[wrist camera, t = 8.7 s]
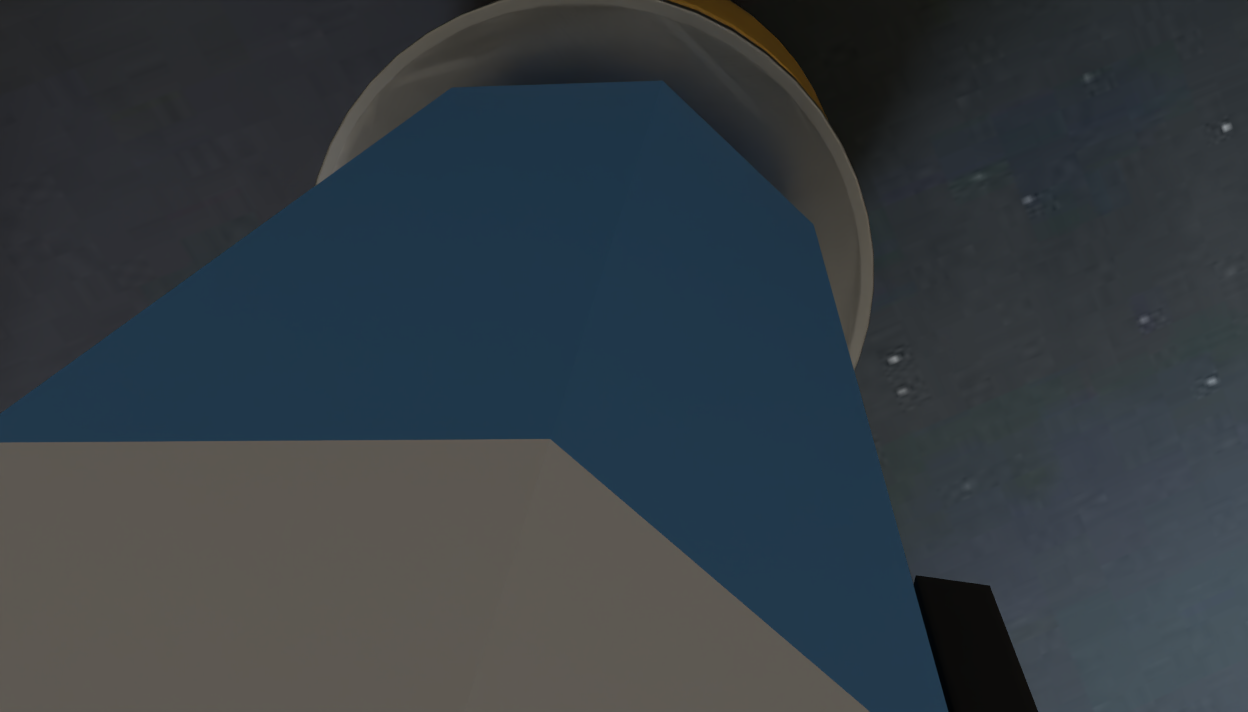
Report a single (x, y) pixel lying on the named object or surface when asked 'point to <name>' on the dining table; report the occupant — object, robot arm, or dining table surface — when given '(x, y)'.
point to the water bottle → (473, 448)
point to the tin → (651, 51)
